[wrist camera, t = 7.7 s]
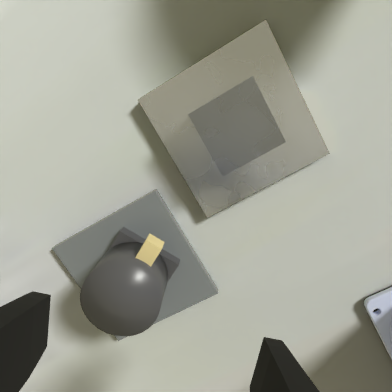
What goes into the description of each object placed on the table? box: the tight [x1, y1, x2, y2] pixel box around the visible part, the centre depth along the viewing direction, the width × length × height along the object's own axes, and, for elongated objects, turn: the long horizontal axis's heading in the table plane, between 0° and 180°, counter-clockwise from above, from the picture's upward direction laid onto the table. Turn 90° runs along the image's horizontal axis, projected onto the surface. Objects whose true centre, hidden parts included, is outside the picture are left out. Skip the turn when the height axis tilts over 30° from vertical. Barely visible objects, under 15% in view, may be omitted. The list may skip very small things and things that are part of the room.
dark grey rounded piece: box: [80, 227, 180, 336], centre depth 19 cm, size 6×4×4 cm
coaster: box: [52, 189, 218, 341], centre depth 21 cm, size 8×8×1 cm
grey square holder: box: [138, 20, 330, 218], centre depth 17 cm, size 8×8×3 cm
